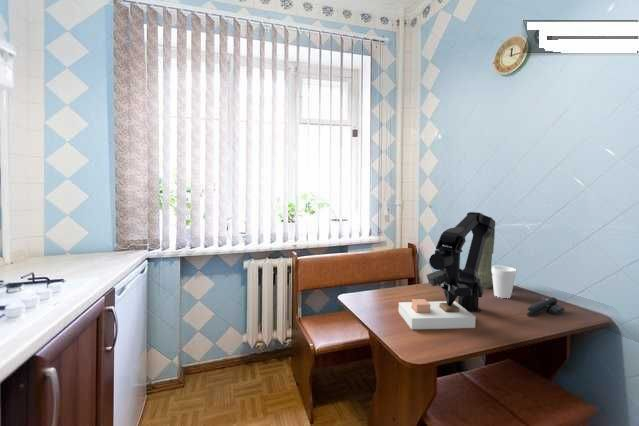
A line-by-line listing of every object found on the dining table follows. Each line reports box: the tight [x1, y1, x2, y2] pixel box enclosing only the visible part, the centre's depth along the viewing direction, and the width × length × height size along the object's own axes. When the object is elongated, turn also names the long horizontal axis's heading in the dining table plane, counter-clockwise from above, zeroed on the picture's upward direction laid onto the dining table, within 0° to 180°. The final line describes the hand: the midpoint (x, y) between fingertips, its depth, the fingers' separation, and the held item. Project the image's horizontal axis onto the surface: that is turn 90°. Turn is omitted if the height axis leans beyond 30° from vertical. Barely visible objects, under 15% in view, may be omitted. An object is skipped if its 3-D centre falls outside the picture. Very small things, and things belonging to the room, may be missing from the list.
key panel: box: [398, 300, 477, 330], centre depth 108 cm, size 23×14×4 cm, turn 93°
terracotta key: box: [411, 298, 430, 313], centre depth 107 cm, size 5×5×4 cm
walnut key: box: [440, 303, 459, 312], centre depth 108 cm, size 5×5×4 cm
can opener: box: [526, 296, 565, 318], centre depth 113 cm, size 18×7×6 cm, turn 111°
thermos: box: [478, 228, 496, 289], centre depth 143 cm, size 9×12×35 cm
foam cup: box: [491, 265, 517, 300], centre depth 130 cm, size 10×9×13 cm
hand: (449, 305), depth 108 cm, fingers closed, pressing on walnut key
